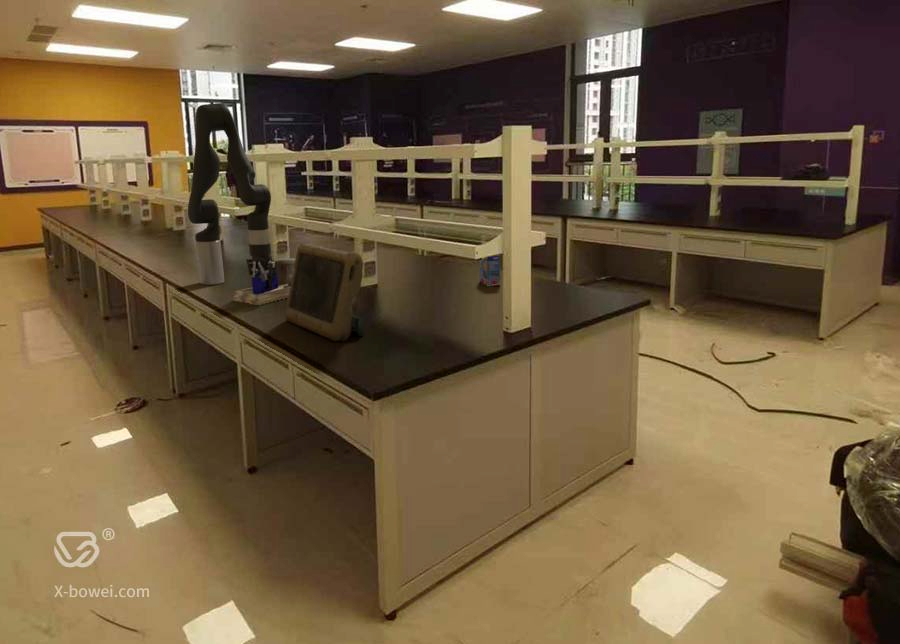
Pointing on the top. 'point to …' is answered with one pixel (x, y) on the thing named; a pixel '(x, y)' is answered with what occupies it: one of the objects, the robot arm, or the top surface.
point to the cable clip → (263, 285)
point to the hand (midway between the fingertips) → (263, 288)
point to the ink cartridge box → (490, 270)
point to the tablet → (325, 291)
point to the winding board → (270, 296)
